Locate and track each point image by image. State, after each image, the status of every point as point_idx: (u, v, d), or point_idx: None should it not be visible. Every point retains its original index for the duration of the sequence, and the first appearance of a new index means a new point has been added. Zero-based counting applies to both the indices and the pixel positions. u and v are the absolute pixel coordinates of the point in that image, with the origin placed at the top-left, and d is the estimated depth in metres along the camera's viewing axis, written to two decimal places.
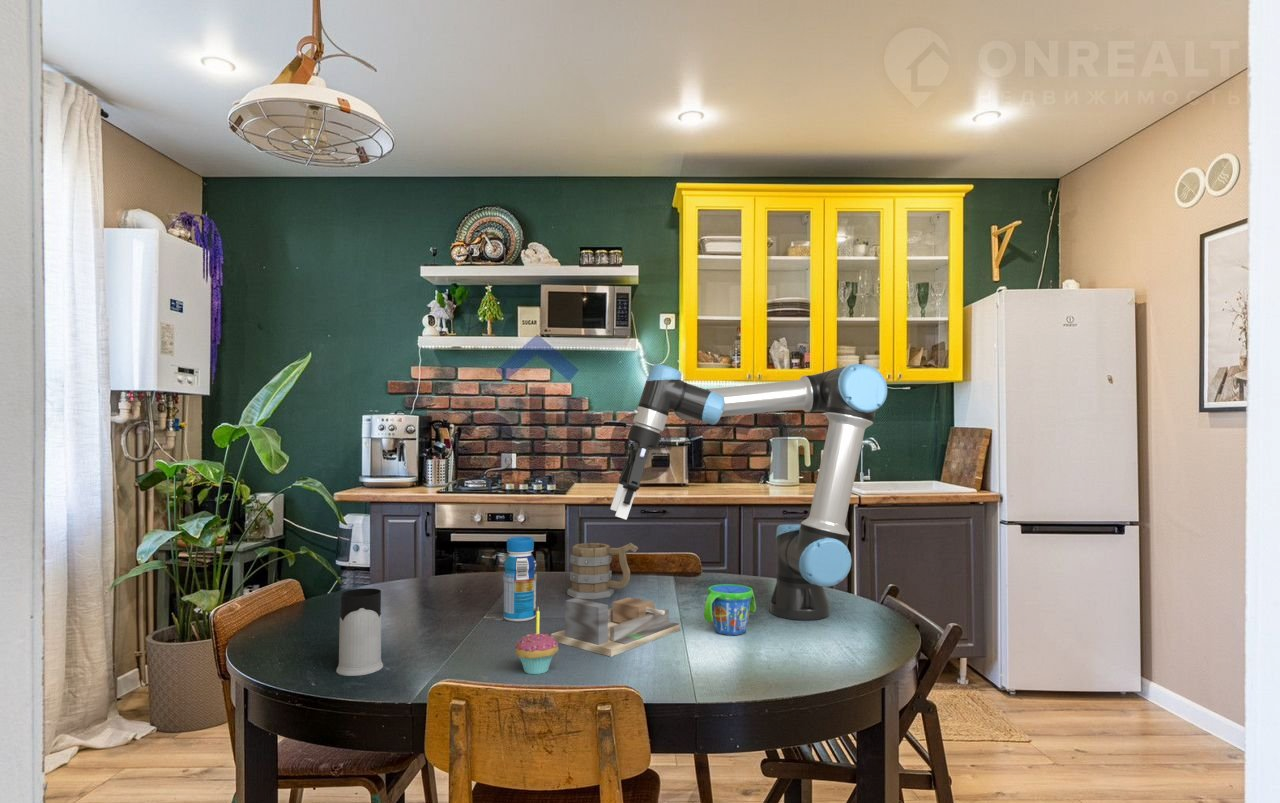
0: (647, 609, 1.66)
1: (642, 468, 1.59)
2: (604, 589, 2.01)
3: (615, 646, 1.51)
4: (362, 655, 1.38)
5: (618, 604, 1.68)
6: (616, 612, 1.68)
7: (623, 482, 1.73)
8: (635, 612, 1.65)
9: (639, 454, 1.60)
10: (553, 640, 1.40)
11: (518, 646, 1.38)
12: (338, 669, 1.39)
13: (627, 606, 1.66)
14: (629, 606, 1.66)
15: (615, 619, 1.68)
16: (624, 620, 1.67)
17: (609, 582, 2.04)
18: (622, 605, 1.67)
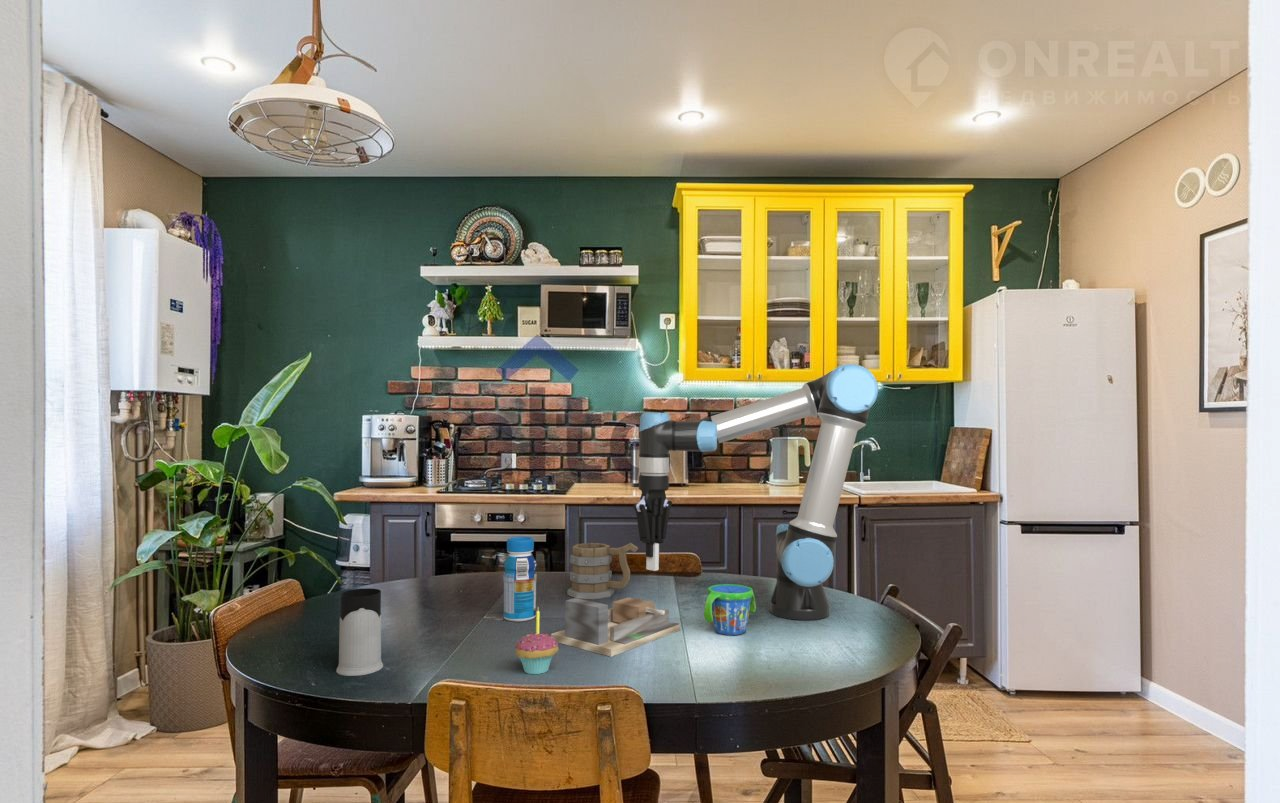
0: (647, 609, 1.66)
1: (644, 523, 1.72)
2: (604, 589, 2.01)
3: (615, 646, 1.51)
4: (362, 655, 1.38)
5: (618, 604, 1.68)
6: (616, 612, 1.68)
7: None
8: (635, 612, 1.65)
9: (637, 511, 1.72)
10: (553, 640, 1.40)
11: (518, 646, 1.38)
12: (338, 669, 1.39)
13: (627, 606, 1.66)
14: (629, 606, 1.66)
15: (615, 619, 1.68)
16: (624, 620, 1.67)
17: (609, 582, 2.04)
18: (622, 605, 1.67)
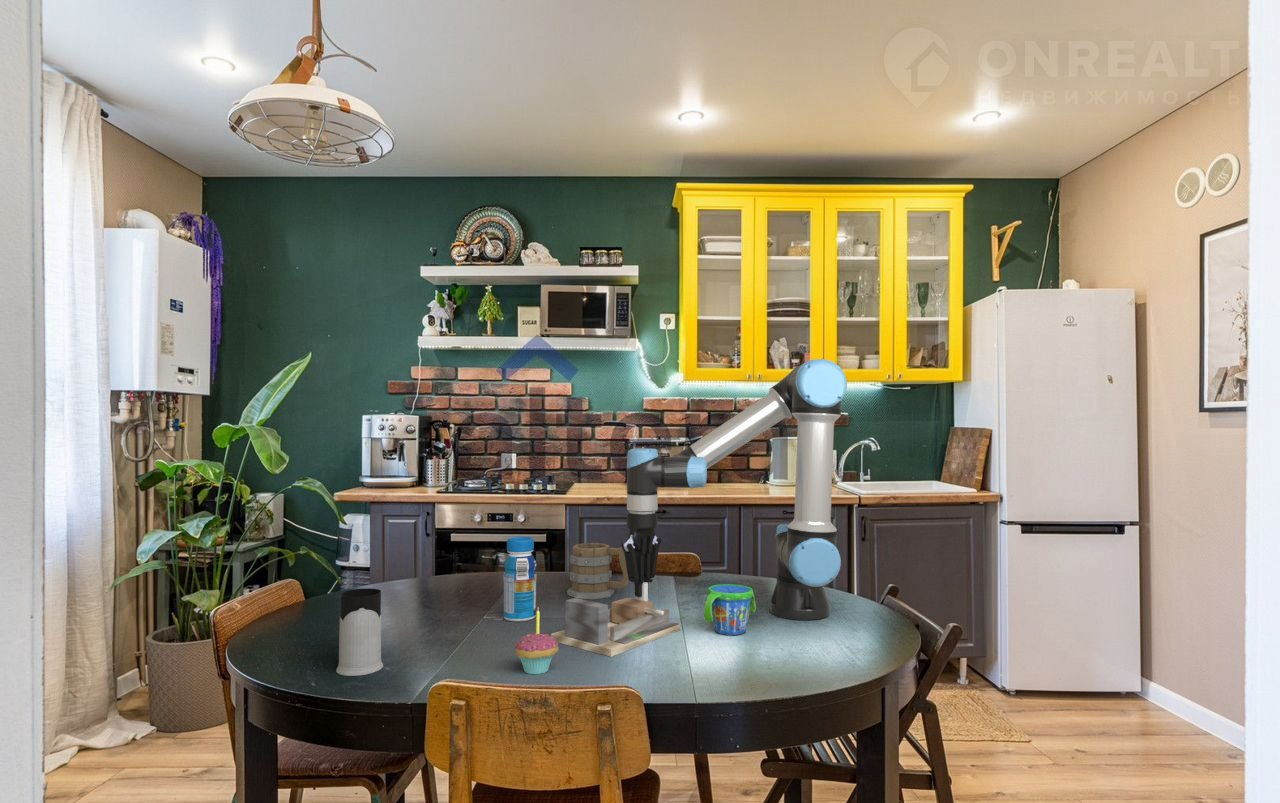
0: (646, 609, 1.65)
1: (632, 563, 1.68)
2: (604, 589, 2.01)
3: (615, 646, 1.51)
4: (362, 655, 1.38)
5: (617, 604, 1.68)
6: (615, 612, 1.68)
7: None
8: (634, 613, 1.64)
9: (625, 550, 1.68)
10: (553, 640, 1.40)
11: (518, 646, 1.38)
12: (338, 669, 1.39)
13: (626, 606, 1.66)
14: (628, 606, 1.65)
15: (614, 619, 1.68)
16: (623, 620, 1.66)
17: (609, 582, 2.04)
18: (621, 605, 1.67)
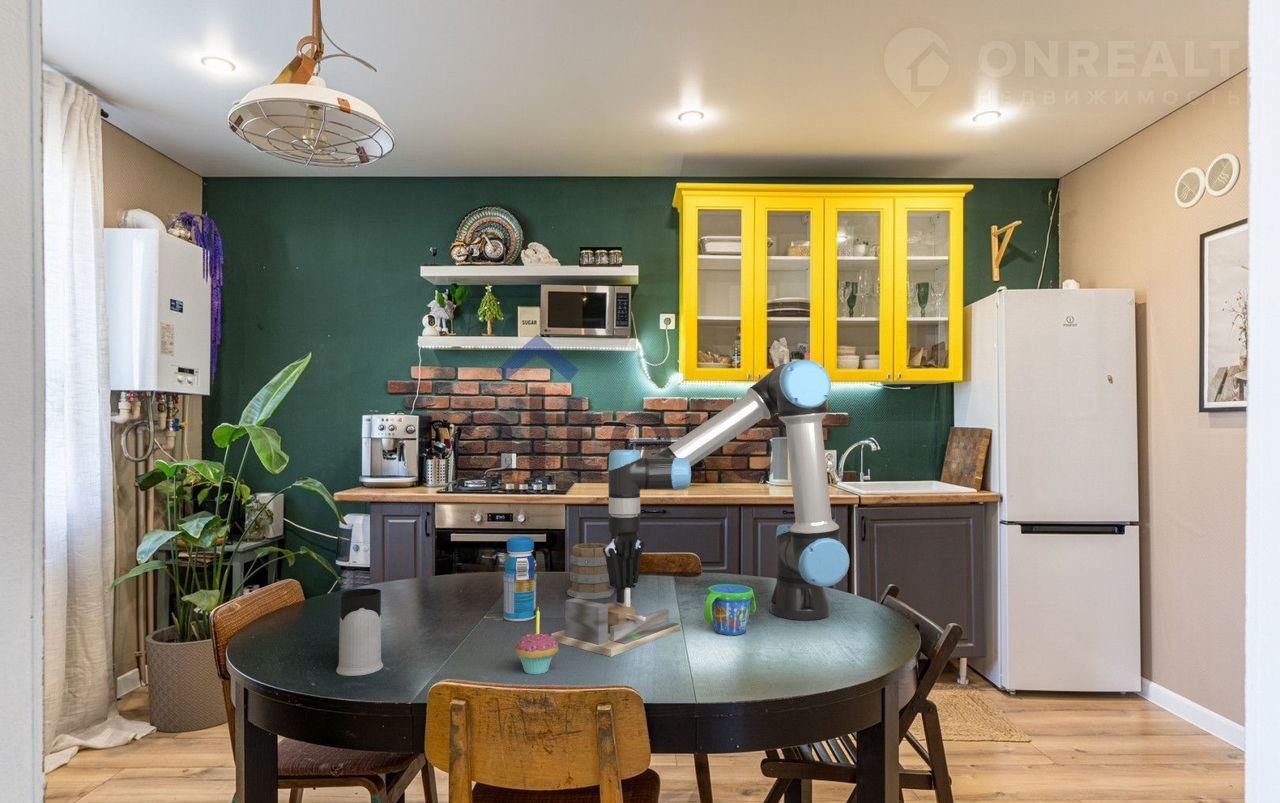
0: (627, 615, 1.60)
1: (613, 568, 1.62)
2: (604, 589, 2.01)
3: (615, 646, 1.51)
4: (362, 655, 1.38)
5: None
6: None
7: None
8: (615, 619, 1.59)
9: (606, 555, 1.63)
10: (553, 640, 1.40)
11: (518, 646, 1.38)
12: (338, 669, 1.39)
13: None
14: (609, 612, 1.60)
15: None
16: None
17: (609, 582, 2.04)
18: None
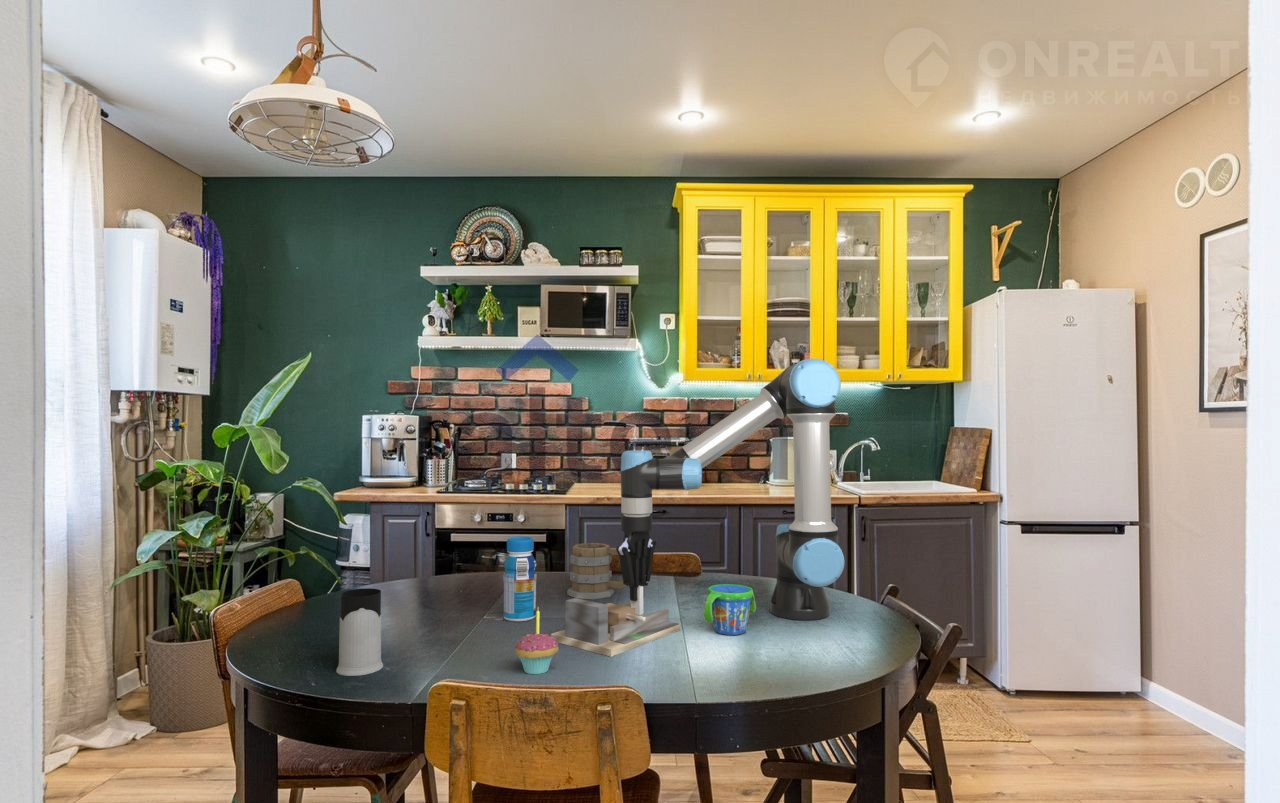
0: (627, 615, 1.60)
1: (627, 566, 1.66)
2: (604, 589, 2.01)
3: (615, 646, 1.51)
4: (362, 655, 1.38)
5: None
6: None
7: None
8: (615, 619, 1.59)
9: (620, 554, 1.66)
10: (553, 640, 1.40)
11: (518, 646, 1.38)
12: (338, 669, 1.39)
13: None
14: (609, 612, 1.60)
15: None
16: None
17: (609, 582, 2.04)
18: None
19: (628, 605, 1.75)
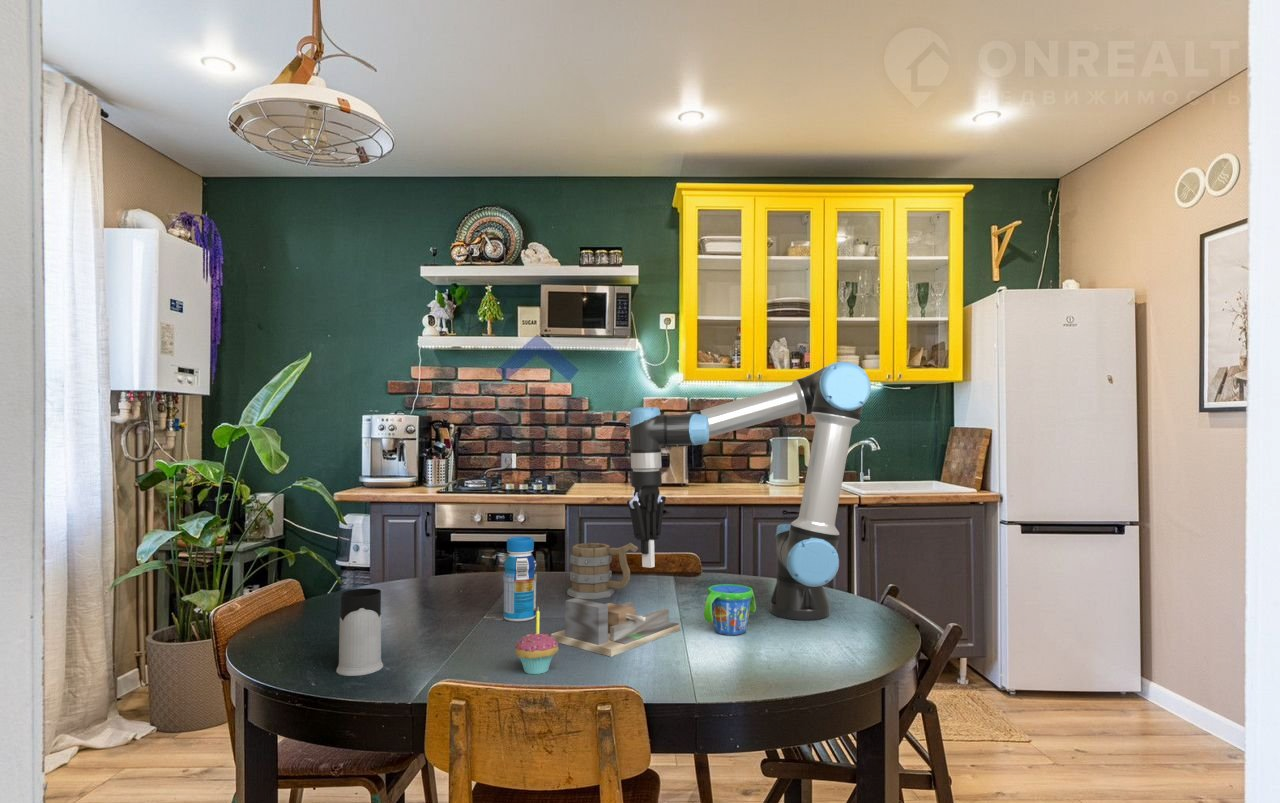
0: (627, 615, 1.60)
1: (638, 520, 1.69)
2: (604, 589, 2.01)
3: (615, 646, 1.51)
4: (362, 655, 1.38)
5: None
6: None
7: None
8: (615, 619, 1.59)
9: (630, 508, 1.69)
10: (553, 640, 1.40)
11: (518, 646, 1.38)
12: (338, 669, 1.39)
13: None
14: (609, 612, 1.60)
15: None
16: None
17: (609, 582, 2.04)
18: None
19: (628, 605, 1.75)
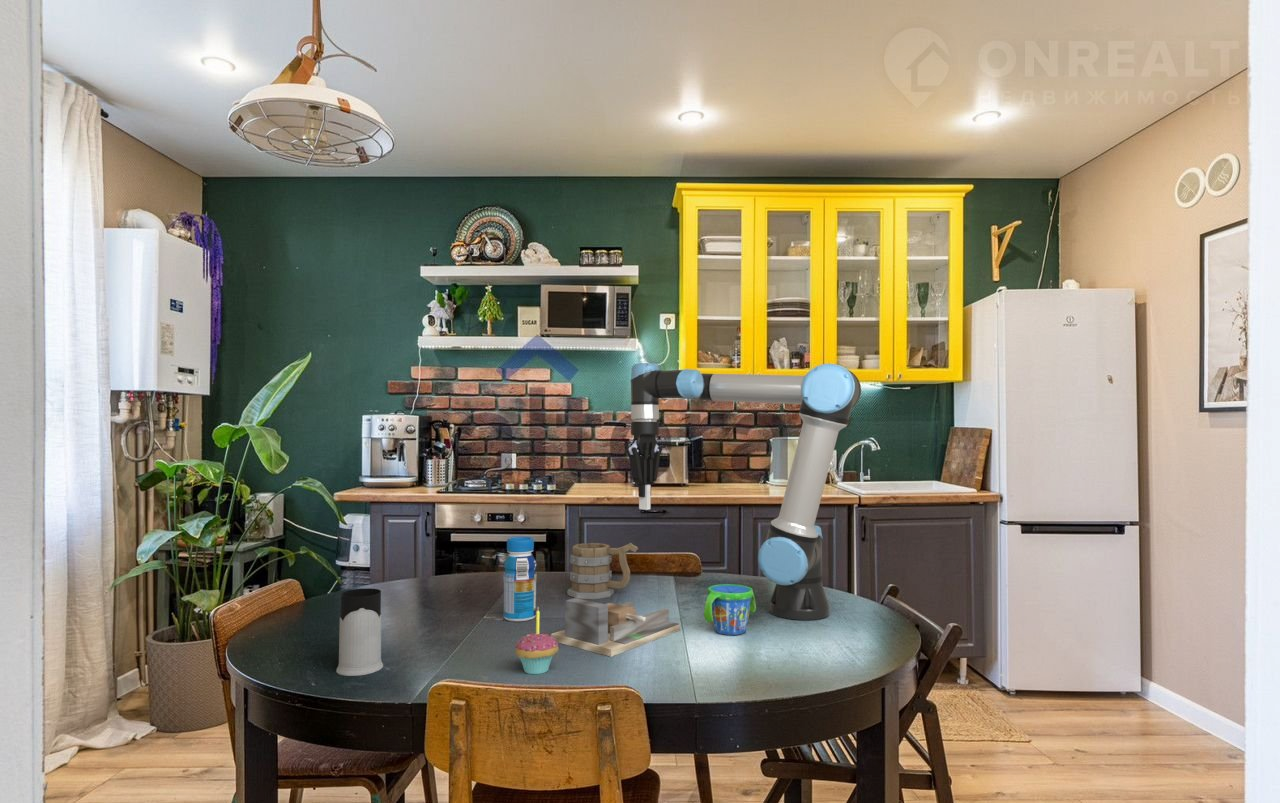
0: (627, 615, 1.60)
1: (636, 465, 1.85)
2: (604, 589, 2.01)
3: (615, 646, 1.51)
4: (362, 655, 1.38)
5: None
6: None
7: None
8: (615, 619, 1.59)
9: (629, 454, 1.86)
10: (553, 640, 1.40)
11: (518, 646, 1.38)
12: (338, 669, 1.39)
13: None
14: (609, 612, 1.60)
15: None
16: None
17: (609, 582, 2.04)
18: None
19: (628, 605, 1.75)
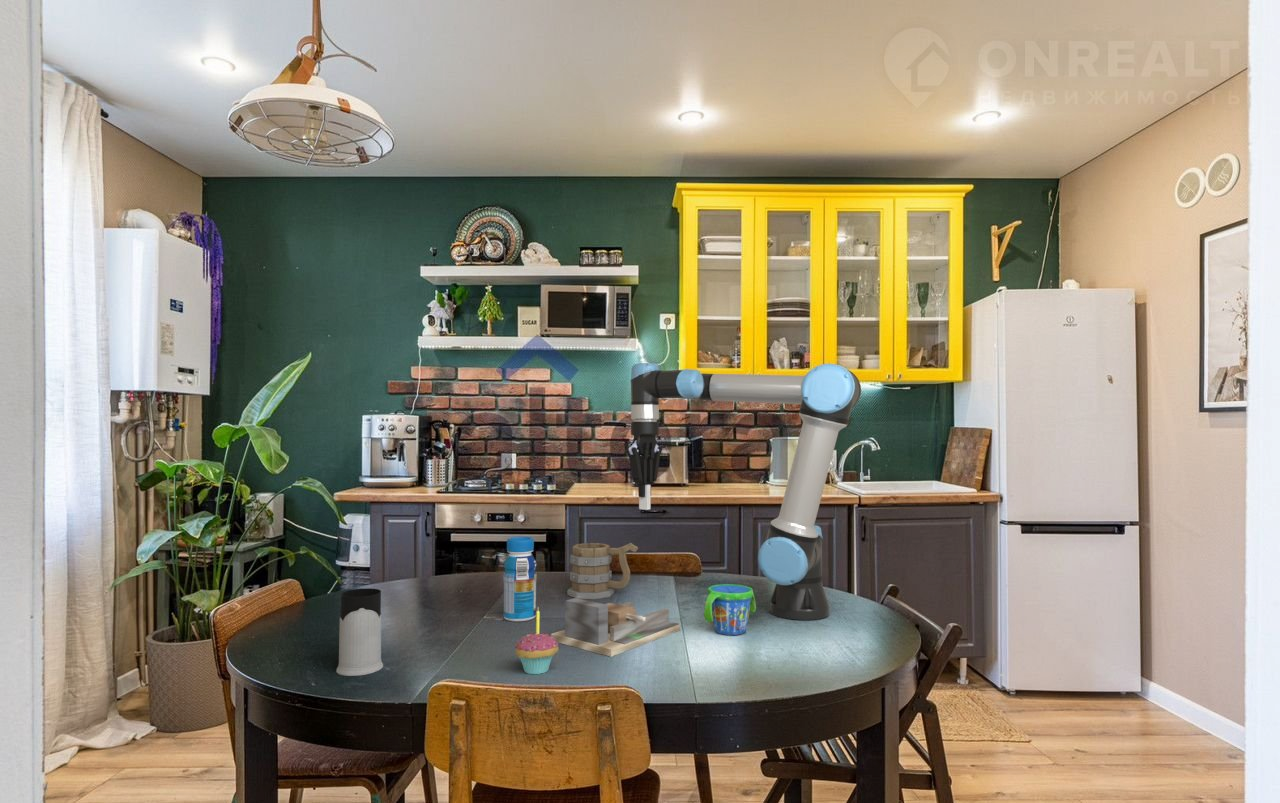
0: (627, 615, 1.60)
1: (636, 465, 1.85)
2: (604, 589, 2.01)
3: (615, 646, 1.51)
4: (362, 655, 1.38)
5: None
6: None
7: None
8: (615, 619, 1.59)
9: (629, 454, 1.86)
10: (553, 640, 1.40)
11: (518, 646, 1.38)
12: (338, 669, 1.39)
13: None
14: (609, 612, 1.60)
15: None
16: None
17: (609, 582, 2.04)
18: None
19: (628, 605, 1.75)
